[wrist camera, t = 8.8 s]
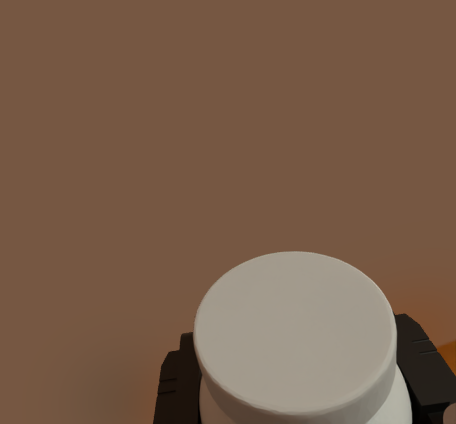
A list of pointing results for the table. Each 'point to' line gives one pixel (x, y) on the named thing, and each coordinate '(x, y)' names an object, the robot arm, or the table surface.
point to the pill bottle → (298, 346)
